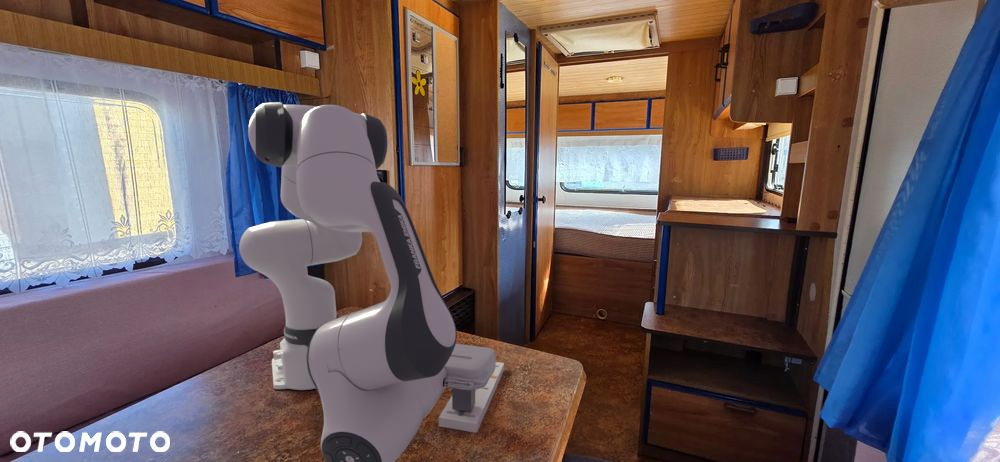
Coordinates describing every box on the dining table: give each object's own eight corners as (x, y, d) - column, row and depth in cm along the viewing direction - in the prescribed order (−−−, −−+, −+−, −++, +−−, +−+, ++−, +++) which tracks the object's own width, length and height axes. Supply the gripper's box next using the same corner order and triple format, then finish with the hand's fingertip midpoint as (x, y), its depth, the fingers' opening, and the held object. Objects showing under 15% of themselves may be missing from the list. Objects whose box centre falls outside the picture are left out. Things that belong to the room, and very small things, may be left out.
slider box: (476, 433, 77) (476, 423, 77) (438, 426, 79) (438, 416, 79) (504, 370, 100) (504, 362, 100) (474, 366, 102) (474, 358, 102)
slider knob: (472, 414, 79) (472, 363, 77) (449, 410, 80) (448, 360, 78) (478, 402, 83) (478, 354, 81) (455, 398, 84) (455, 351, 82)
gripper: (483, 369, 54) (505, 328, 67) (352, 351, 59) (396, 316, 72) (483, 410, 55) (505, 361, 69) (354, 390, 60) (398, 348, 73)
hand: (448, 338), depth 70 cm, fingers closed
